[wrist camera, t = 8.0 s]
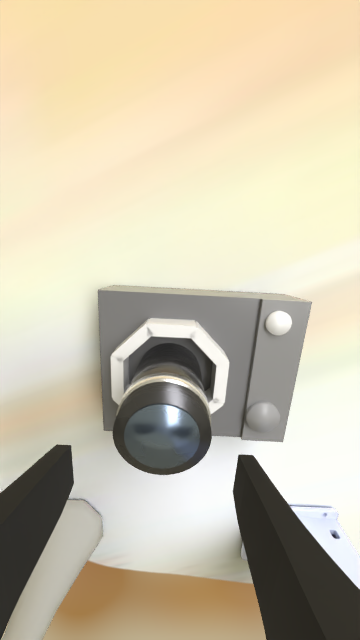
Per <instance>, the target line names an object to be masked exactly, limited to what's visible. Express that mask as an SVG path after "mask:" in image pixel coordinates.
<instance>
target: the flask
mask: <svg viewBox="0 0 360 640" xmlns="http://www.w3.org/2000/svg"><path fill="white" fill-rule="evenodd" d="M102 537H103V526H102V516H100V515H99V514H98V513H97V512H96V511H95V510H94V509H93V508H92V507H91V506H90V505H89V504H88V503H87V502H86V501H85V500H67V502H66V505H65V507H64V509H63V512H62V514H61V516H60V518H59V520H58V522H57V524H56V526H55V528H54V530H53V532H52V534H51V536H50V538H49V540H48V542H47V544H46V546H45V548H44V550H43V552H42V554H41V556H40V558H39V560H38V562H37V564H36V566H35V568H34V570H33V572H32V574H31V576H30V578H29V580H28V582H27V584H26V586H25V588H24V590H23V592H22V594H21V596H20V598H19V600H18V602H17V604H16V606H15V609H14V611H13V613H12V615H11V617H10V620H9V623H8V626H7V629H6V631H5V634H4V636H3V638H2V640H42V639H43V637H44V635H45V633H46V631H47V629H48V627H49V625H50V623H51V621H52V619H53V617H54V615H55V613H56V611H57V609H58V607H59V606H60V604H61V602H62V601H63V599H64V598H65V596H66V594H67V593H68V591H69V589H70V588H71V586H72V584H73V583H74V581H75V579H76V578H77V576H78V574H79V573H80V571H81V570H82V568H83V567H84V565H85V563H86V562H87V560H88V559H89V557H90V556H91V554H92V553H93V551H94V550H95V548H96V546H97V545H98V543H99V542H100V540H101V538H102Z"/></svg>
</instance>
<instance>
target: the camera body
mask: <svg viewBox="0 0 360 640" xmlns="http://www.w3.org/2000/svg"><path fill="white" fill-rule="evenodd" d="M311 304H312V302H310V301H307V300H303V299H300V298H296V297H292V296H289V295H285V294H270V293H251V292H233V291H214V290H195V289H176V288H158V287H139V286H120V285H113V286H109V287H106V288H103V289H99V290H98V305H99V329H100V353H101V377H102V401H103V425H104V430H105V431H113V426H114V422H115V419H116V414H117V409H118V407H119V404H120V402H121V400H122V397H123V395H124V394H125V392H126V390H127V389H128V388H129V386H130V384H131V381H132V379H133V377H134V374H135V372H136V370H137V367H138V365H139V363H140V360H141V358H142V357H143V355H144V354H145V353H146V352H147V351H148V350H149V349H151V348H152V347H154V346H156V345H159V344H163V343H175V344H179V345H182V346H184V347H186V348H187V349H189V350H190V351H191V352H192V353H193V354H194V355H195V356H196V358H197V360H198V362H199V365H200V370H201V376H202V381H203V387H204V392H205V396H206V398H207V400H208V404H209V408H210V414H211V432H212V436H231V437H241V439H242V440H253V441H274V442H283V439H284V434H285V430H286V425H287V420H288V415H289V410H290V405H291V401H292V396H293V391H294V386H295V381H296V376H297V372H298V367H299V362H300V357H301V352H302V347H303V343H304V338H305V333H306V328H307V323H308V318H309V314H310V309H311Z"/></svg>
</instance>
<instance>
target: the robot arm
mask: <svg viewBox="0 0 360 640" xmlns="http://www.w3.org/2000/svg"><path fill="white" fill-rule="evenodd" d="M73 484H74V479H73V466H72V453H71V445H56V446H54V447H53V448H52V449H51V450H50V451H49V452H47V453H46V454H45V455H44V456H43V457H42V458H41V459H39V460H38V461H37V462H36V463H35V464H34V465H33V466H32V467H30V468H29V469H28V470H27V471H26V472H25V473H23V474H22V475H21V476H20V477H19V478H18V479H17V480H15V481H14V482H13V483H12V484H11V485H9V486H8V487H7V488H6V489H5V490H4V491H2V492H1V493H0V640H1V638H2V636H3V633H4V631H5V629H6V626H7V623H8V622H9V619H10V617H11V615H12V613H13V611H14V609H15V606H16V604H17V602H18V600H19V598H20V596H21V594H22V592H23V590H24V588H25V586H26V584H27V582H28V580H29V578H30V576H31V574H32V572H33V570H34V568H35V566H36V564H37V562H38V560H39V558H40V556H41V554H42V552H43V550H44V548H45V546H46V544H47V542H48V540H49V538H50V536H51V534H52V532H53V530H54V528H55V526H56V524H57V522H58V520H59V518H60V516H61V514H62V512H63V509H64V507H65V505H66V502H67V500H68V497H69V494H70V492H71V489H72V487H73ZM233 495H234V501H235V508H236V514H237V520H238V524H239V529H240V533H241V537H242V540H243V543H242V549H241V558H242V559H243V560H248V564H249V568H250V572H251V576H252V580H253V584H254V587H255V591H256V595H257V599H258V603H259V607H260V611H261V616H262V620H263V625H264V629H265V634H266V639H267V640H360V556H359V554H358V553H357V551H356V550H355V548H354V546H353V545H352V543H351V541H350V540H349V538H348V536H347V535H346V533H345V532H344V530H343V528H342V527H341V525H340V523H339V522H338V520H337V518H338V512H337V511H336V509H334V508H320V507H298V506H289V505H288V503H287V502H286V501H285V499H284V498H283V497H282V495H281V494H280V493H279V491H278V490H277V489H276V487H275V486H274V484H273V483H272V482H271V480H270V479H269V477H268V476H267V474H266V473H265V472H264V470H263V469H262V467H261V466H260V464H259V463H258V461H257V460H256V459H255V457H254V456H253V455H239V456H238V462H237V469H236V475H235V482H234V488H233Z"/></svg>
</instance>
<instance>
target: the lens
mask: <svg viewBox="0 0 360 640" xmlns="http://www.w3.org/2000/svg"><path fill="white" fill-rule="evenodd" d="M211 438H212V432H211V414H210V408H209V404H208V400H207V398H206V396H205V392H204V387H203V381H202V376H201V370H200V365H199V362H198V360H197V358H196V356H195V355H194V354H193V353H192V352H191V351H190V350H189V349H187V348H186V347H184V346H182V345H179V344H175V343H163V344H159V345H156V346H154V347H152V348H151V349H149V350H148V351H147V352H146V353H145V354H144V355H143V357H142V358H141V360H140V363H139V365H138V367H137V370H136V372H135V374H134V377H133V379H132V381H131V384H130V386H129V388H128V389H127V390H126V392H125V394H124V395H123V397H122V400H121V402H120V404H119V407H118V409H117V414H116V419H115V422H114V426H113V439H114V443H115V446H116V448H117V450H118V452H119V453H120V455H121V456H122V457H123V458H124V459H125V460H126V461H127V462H128V463H129V464H131V465H132V466H134V467H135V468H137V469H139V470H141V471H144V472H147V473H151V474H158V475H169V474H176V473H180V472H183V471H185V470H187V469H190V468H191V467H193V466H194V465H196V464H197V463H198V462H199V461H200V460H201V459H202V458H203V457H204V456H205V454H206V453H207V451H208V449H209V446H210V443H211Z"/></svg>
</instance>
